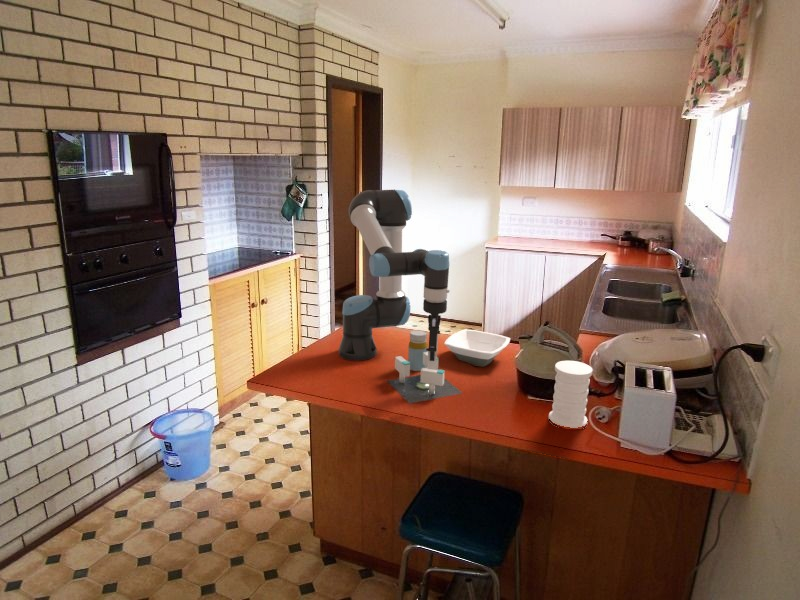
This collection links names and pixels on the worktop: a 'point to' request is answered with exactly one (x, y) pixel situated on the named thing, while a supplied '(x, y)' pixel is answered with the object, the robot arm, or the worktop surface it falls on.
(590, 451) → the worktop surface
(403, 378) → the knob near
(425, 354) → the knob far
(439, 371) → the knob front
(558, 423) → the decorative container
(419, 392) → the plate
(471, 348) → the bowl
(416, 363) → the bottle
